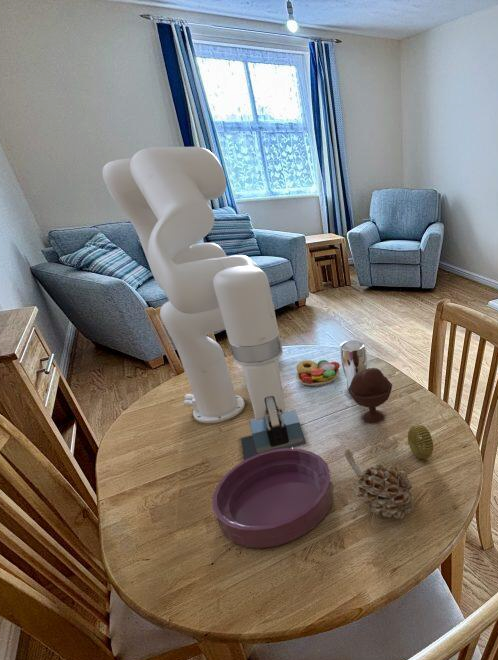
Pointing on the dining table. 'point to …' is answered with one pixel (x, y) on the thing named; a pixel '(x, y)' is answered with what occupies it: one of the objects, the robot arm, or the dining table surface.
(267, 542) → the serving bowl
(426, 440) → the sculpture
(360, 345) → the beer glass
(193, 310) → the robot arm
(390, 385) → the ice cream bowl
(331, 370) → the toy food set
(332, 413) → the dining table surface
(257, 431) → the block
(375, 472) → the pine cone
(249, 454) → the rubber mat
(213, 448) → the dining table surface
